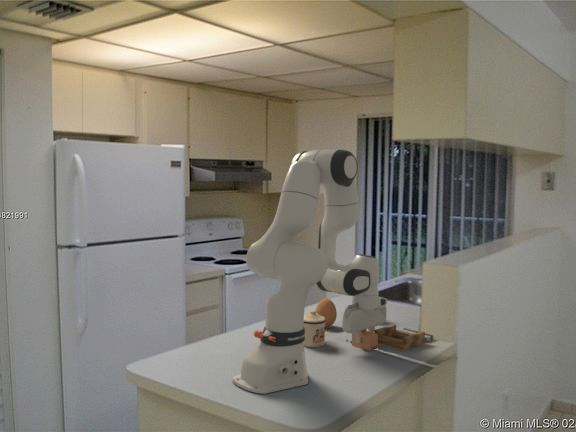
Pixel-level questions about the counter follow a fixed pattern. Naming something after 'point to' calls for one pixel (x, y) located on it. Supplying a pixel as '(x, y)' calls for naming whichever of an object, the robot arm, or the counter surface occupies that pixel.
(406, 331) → the plank
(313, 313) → the teacup with lid
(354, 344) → the block
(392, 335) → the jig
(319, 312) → the egg
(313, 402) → the counter surface
